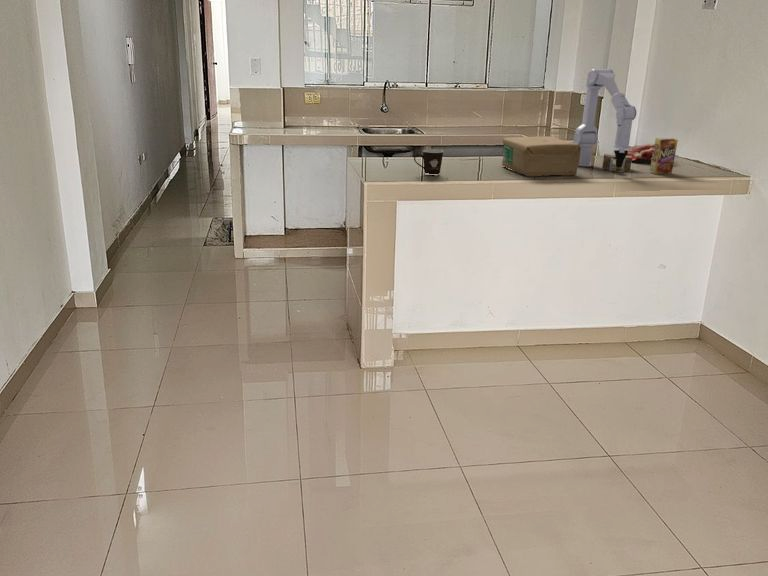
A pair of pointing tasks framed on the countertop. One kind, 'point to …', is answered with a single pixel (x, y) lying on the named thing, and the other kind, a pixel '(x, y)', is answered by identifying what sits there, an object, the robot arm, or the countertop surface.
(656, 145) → the candy box
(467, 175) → the countertop surface
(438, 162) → the coffee mug
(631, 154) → the meat
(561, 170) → the paper package
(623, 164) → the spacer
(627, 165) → the bearing block
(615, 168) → the shaft
